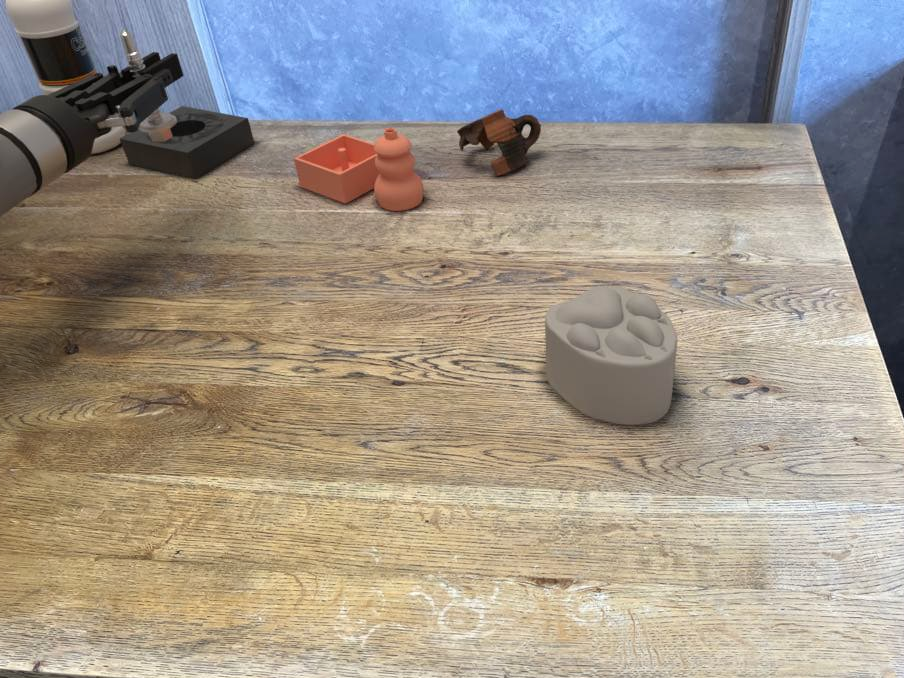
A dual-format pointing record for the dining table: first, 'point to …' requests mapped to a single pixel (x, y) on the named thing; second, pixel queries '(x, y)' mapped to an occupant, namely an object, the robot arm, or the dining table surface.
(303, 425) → the dining table surface
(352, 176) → the pottery
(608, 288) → the lumpy-topped squat cylinder
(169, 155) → the hole plate
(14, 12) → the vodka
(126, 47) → the screw
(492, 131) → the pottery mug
